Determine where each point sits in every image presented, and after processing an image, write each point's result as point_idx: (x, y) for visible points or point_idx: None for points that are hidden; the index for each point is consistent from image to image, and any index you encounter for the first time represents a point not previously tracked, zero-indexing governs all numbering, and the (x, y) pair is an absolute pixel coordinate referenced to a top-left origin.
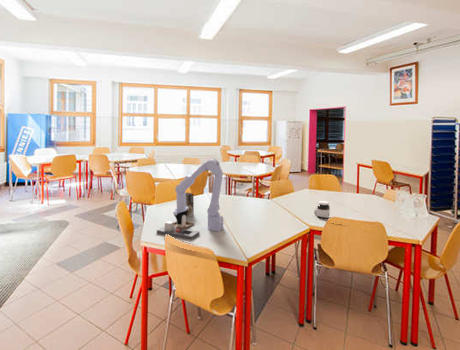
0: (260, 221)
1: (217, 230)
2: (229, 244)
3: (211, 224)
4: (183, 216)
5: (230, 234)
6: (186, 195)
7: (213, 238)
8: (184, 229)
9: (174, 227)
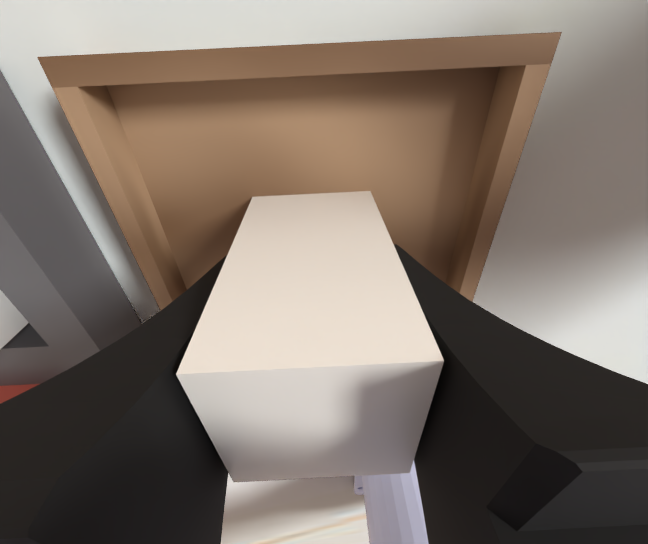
0: None
1: (360, 490)
2: (221, 540)
3: (367, 523)
4: (295, 468)
5: (345, 517)
6: None
7: (235, 501)
8: None
9: (55, 304)
